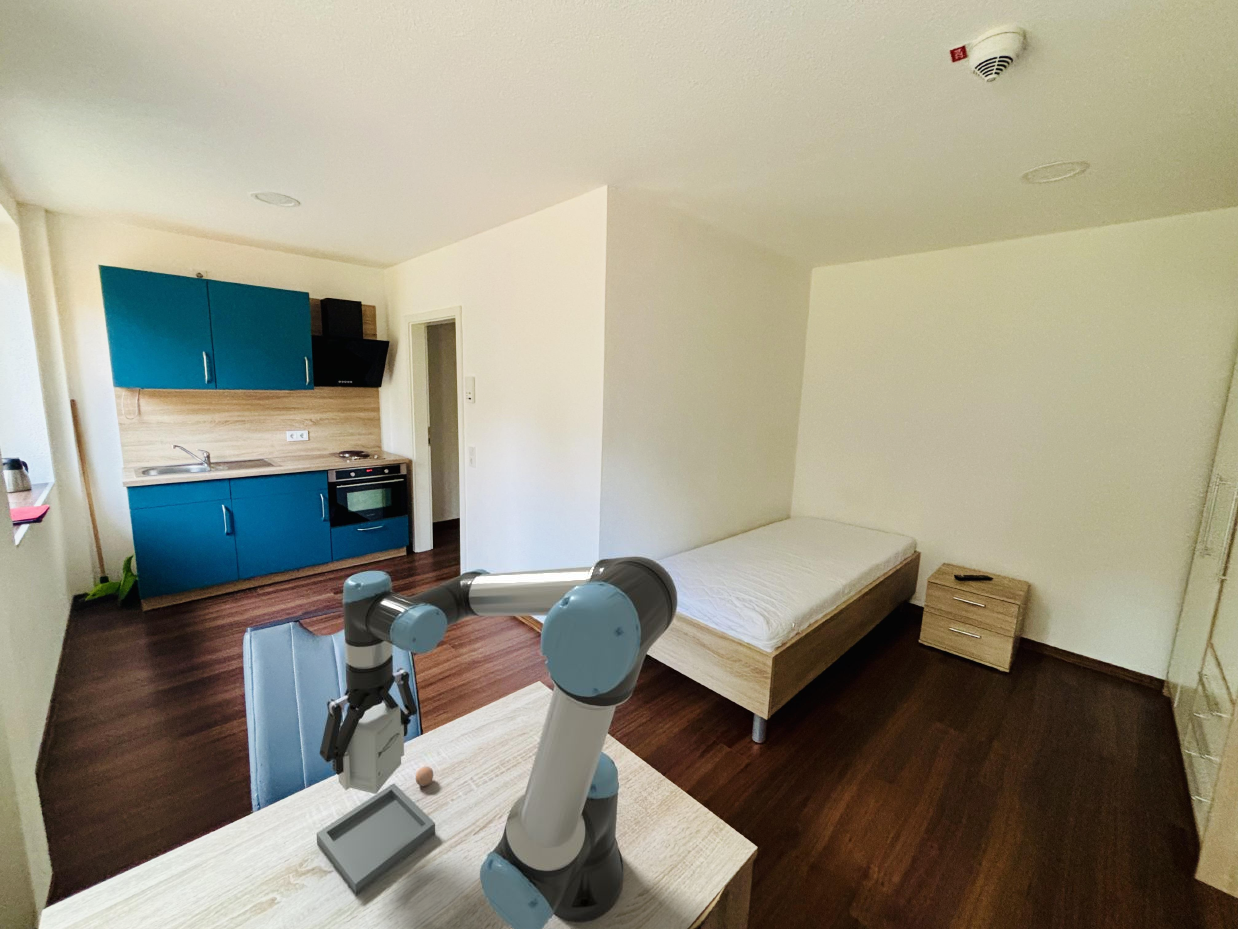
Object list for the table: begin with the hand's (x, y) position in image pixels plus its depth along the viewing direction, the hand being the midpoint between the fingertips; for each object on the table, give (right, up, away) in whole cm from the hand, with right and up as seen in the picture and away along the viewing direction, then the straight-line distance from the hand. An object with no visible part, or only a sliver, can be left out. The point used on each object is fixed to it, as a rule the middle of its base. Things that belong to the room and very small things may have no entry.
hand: (372, 768), depth 91 cm
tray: (0, -15, +2) cm, 15 cm away
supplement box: (0, -2, 0) cm, 2 cm away
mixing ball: (+4, -13, +15) cm, 20 cm away
